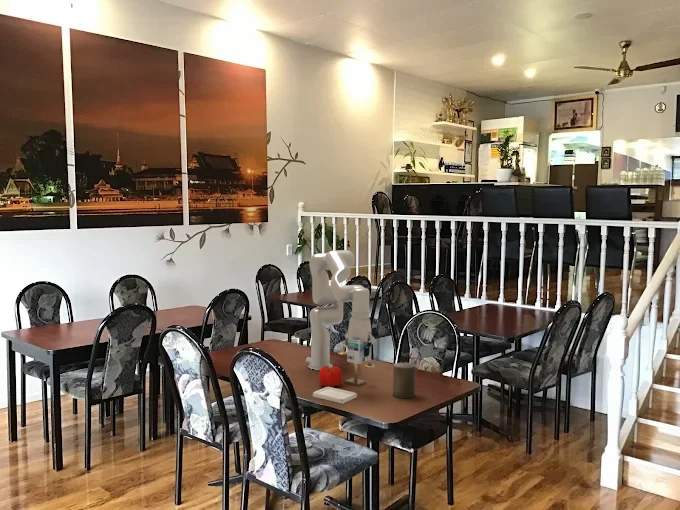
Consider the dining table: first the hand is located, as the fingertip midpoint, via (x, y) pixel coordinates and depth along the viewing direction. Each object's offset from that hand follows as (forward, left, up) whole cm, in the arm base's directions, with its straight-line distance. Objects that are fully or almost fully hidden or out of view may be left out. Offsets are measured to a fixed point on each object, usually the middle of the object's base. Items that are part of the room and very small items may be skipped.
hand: (359, 354), depth 266 cm
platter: (-5, -12, -17) cm, 22 cm away
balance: (-9, +10, -17) cm, 22 cm away
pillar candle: (+18, +8, -17) cm, 27 cm away
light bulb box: (0, 0, -3) cm, 3 cm away
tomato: (-16, 0, -17) cm, 23 cm away
